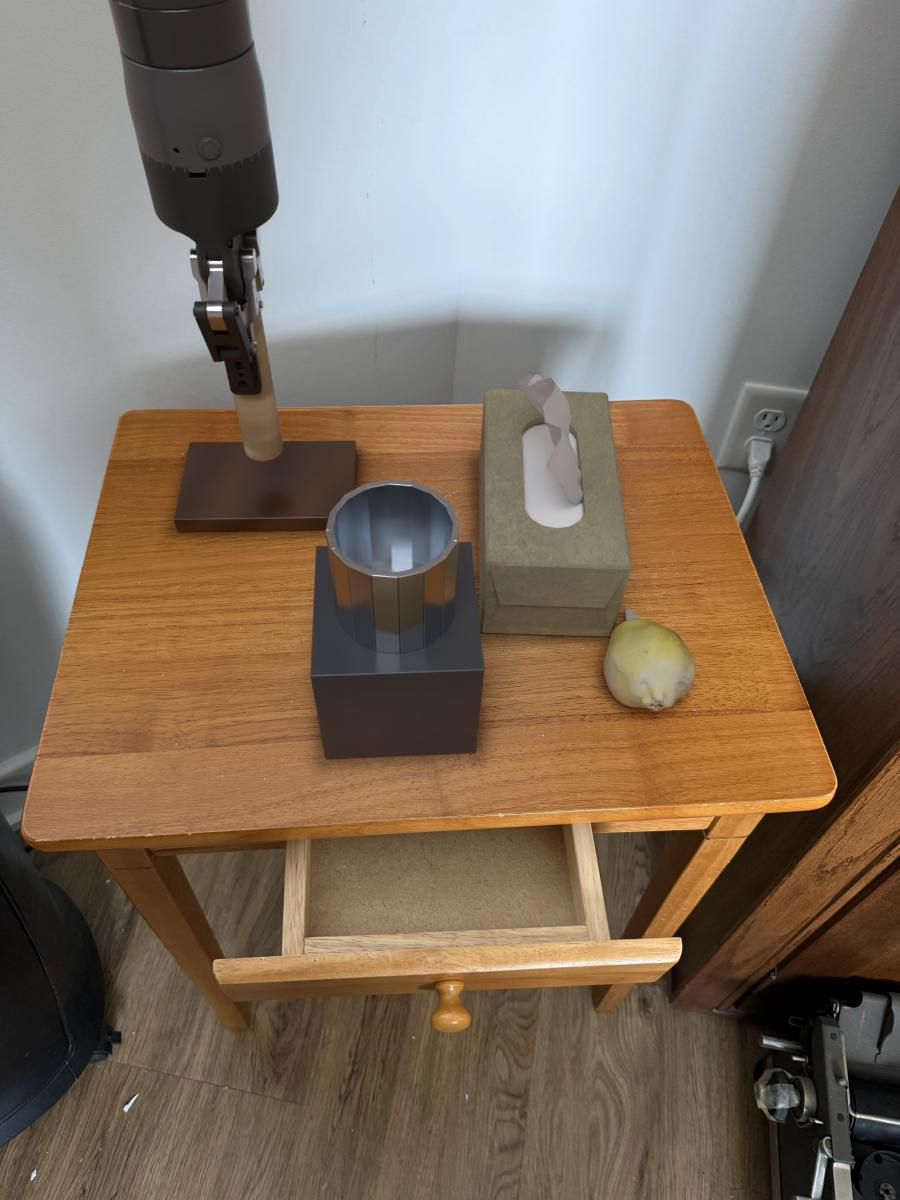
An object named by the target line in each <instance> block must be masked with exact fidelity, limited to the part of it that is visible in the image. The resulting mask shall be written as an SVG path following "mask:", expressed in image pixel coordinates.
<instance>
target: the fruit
mask: <svg viewBox="0 0 900 1200" xmlns="http://www.w3.org/2000/svg"><path fill="white" fill-rule="evenodd" d="M624 616H625V620H624V621H622V622H621V623H619V624H618V625H617V626H615V627H614V630H613V632H612V634H611V636H610V637H609V638H610V639H609V641H608V645H607V649H606V652H605V654H604V658H603V675H604V680H605V683H606V685H607V688H608V690H609V692H610V693H611V694H612V696H613V697H614V699H615V700H616V701H617V702H618V703H620V704H621V705H624V706H627V707H631V708H644V709H648V710H652V711H654V712H659V711H662V710H663V709H668V708H671V707H672V706H673V705H674V703H675V702H676V701H677V700H678V699H680V698H682V697H683V696H685V695H686V694H687V693H689V692H690V691H691V690H692V688H693V685H694V682H695V680H696V674H697V673H696V663H695V660H694V657H693V655H692V653H691V651H690V649H689V647H688V646H687V644H686V642H685V641H684V640H683V638H682V637H681V636H680V634H678V633H677V632H676V631H674V630H673V629H671V628H669V627H666V626H664V625H661V624H659V623H658V622H656V621H653V620H650V619H646V618H641V617H640V616H639V614H638V613H636V612H635V611H634V610H633V609H632V608H630V607H625V608H624Z"/></svg>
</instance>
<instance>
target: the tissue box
mask: <svg viewBox="0 0 900 1200" xmlns="http://www.w3.org/2000/svg"><path fill="white" fill-rule="evenodd" d="M513 379H514V381H515V383H516V384H517V385H518V386H519V389H512V388H511V389H510V388H486V389H484V392H483V404H482V416H481V417H482V418H481V433H480V446H479V458H478V467H479V468H478V513H479V514H478V517H479V518H478V524H479V525H478V531H479V532H478V533H479V534H478V536H479V537H478V540H479V541H478V546H479V547H478V551H479V552H478V554H479V555H478V556H479V559H478V562H479V563H478V564H479V565H478V566H479V567H478V568H479V569H478V572H479V575H478V576H479V577H478V578H479V579H478V581H479V583H478V584H479V585H478V586H479V587H478V594H479V595H478V596H479V598H478V599H479V601H478V602H479V603H478V612H479V622H480V632H481V634H482V633H483V634H508V635H509V634H515V635H540V636H541V635H542V636H543V635H545V636H575V637H576V636H577V637H604V638H610V637H611V634H612V632H613V630H614V629H615V628H616V624H617V620H618V617H619V616H618V615H619V612H620V610H621V605H622V603H623V599H624V596H625V592H626V589H627V585H628V582H629V578H630V576H631V572H632V568H633V566H632V559H631V552H630V543H629V537H628V532H627V531H628V530H627V522H626V515H625V509H624V508H625V507H624V501H623V494H622V488H621V481H620V480H621V479H620V472H619V466H618V465H619V464H618V458H617V451H616V443H615V437H614V429H613V423H612V415H611V407H610V401H609V394H608V393H607V392H600V391H595V392H594V391H571V390H570V391H569V390H561V389H560V387H559V386H558V384H557V383H556V381H554V379H553V378H552V377H548V378H544V377H542V376H541V375H539V374H538V373H536V372H532V373H530V374H528V375H527V376H524V377H523V378H517V377H513Z"/></svg>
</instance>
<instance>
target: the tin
mask: <svg viewBox="0 0 900 1200" xmlns="http://www.w3.org/2000/svg"><path fill="white" fill-rule="evenodd" d="M460 523H461V522H460V520H459V518H458V515H457V513H456V510H455V508H454V506H453V504H452V503H451V502H450V501H449V500H447V499H446V498H445V497H444V496H443V495H442V494H441V493H440V492H439V491H438V490H436V489H434V488H431V487H430V486H427V485H424V484H421V483H418V482H416V481H412V480H400V479H384V480H378V481H373V482H369V483H365V484H362V485H360V486H359V487H356V489H355V490H353V491H351V492H349V493H347V494H346V495H344V496H343V497H342V498H341V499H340V501H339V502H338V503H337V504H336V505H335V507H334V508H333V509H332V510H331V512H330V514H329V519H328V523H327V527H326V530H325V536H326V537H325V538H326V546H328V553H329V561H330V569H331V577H332V586H333V594H334V602H335V609H336V613H337V616H338V620H339V623H340V626H341V628H342V629H343V630H344V631H345V632H346V633H347V634H348V635H349V636H350V637H351V638H352V639H353V640H354V641H355V642H356V643H358V644H360V645H363V646H365V647H367V648H369V649H371V650H374V651H377V652H386V653H398V654H400V653H405V652H410V651H414V650H418V649H422V648H423V647H424V648H425V647H426V646H428V645H429V644H431V643H432V642H434V641H435V640H437V639H438V638H440V637H441V636H442V635H443V634H444V633H445V631H446V630H447V628H448V627H449V625H450V624H451V622H452V620H453V618H454V612H455V602H456V584H457V565H458V545H459V542H460Z"/></svg>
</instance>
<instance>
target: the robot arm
mask: <svg viewBox="0 0 900 1200" xmlns="http://www.w3.org/2000/svg"><path fill="white" fill-rule="evenodd" d="M107 2H108V4H109V9H110V13H111V17H112V22H113V26H114V30H115V34H116V39H117V42H118V46H119V52H120V53H119V54H120V57H121V58H120V59H121V63H122V64H121V65H122V72H123V82H124V90H125V96H126V101H127V106H128V109H129V113H130V118H131V121H132V125H133V128H134V133H135V137H136V141H137V146H138V149H139V154H140V157H141V162H142V165H143V170H144V173H145V178H146V182H147V185H148V190H149V194H150V199H151V203H152V206H153V211H154V212H155V216H157V218H158V219H159V221H160V222H161V223H162V224H163V225H164V226H165V227H167V228H168V229H170V230H172V231H174V232H176V233H180V234H181V235H183V236H185V237H187V238H189V239H190V240H191V241H193V242H194V243H195V248H193V247H192V248H191V247H190V249H189V262H190V268H191V274H192V277H193V278H194V280H196V282H197V285H198V291H199V297H200V300H195V301H194V303H193V307H192V315H193V317H194V319H195V322H196V324H197V327H198V329H199V331H200V333H201V336H202V339H203V340H204V343H205V345H206V348H207V350H208V352H209V354H210V357H211V359H212V361H213V363H222V362H224V367H225V370H226V371H225V372H226V376H227V382H228V385H229V390H230V392H231V393H232V394H233V393H234V394H236V395H257V394H260V393H261V391H262V378H261V372H260V366H259V360H258V355H257V349H256V348H257V340H256V339H255V332H254V324H253V322H255V321H256V319H257V315H258V311H260V312H261V314H262V312H263V309H264V301H263V300H262V296H261V292H263V289H264V286H265V279H264V270H263V269H264V268H263V263H262V258H261V243H262V239H261V235H260V229H259V228H261V226H264V225H265V224H266V223H267V222H268V221H270V220H271V218H272V217H273V216H274V215H275V214H276V212H277V210H278V206H279V203H280V194H279V187H278V178H277V170H276V163H275V156H274V155H275V154H274V149H273V141H272V131H271V126H270V118H269V110H268V104H267V102H268V101H267V94H266V87H265V82H264V78H263V74H262V70H261V66H260V63H259V58H258V54H257V50H256V44H255V40H254V31H253V24H252V17H251V10H250V1H249V0H107Z"/></svg>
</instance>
